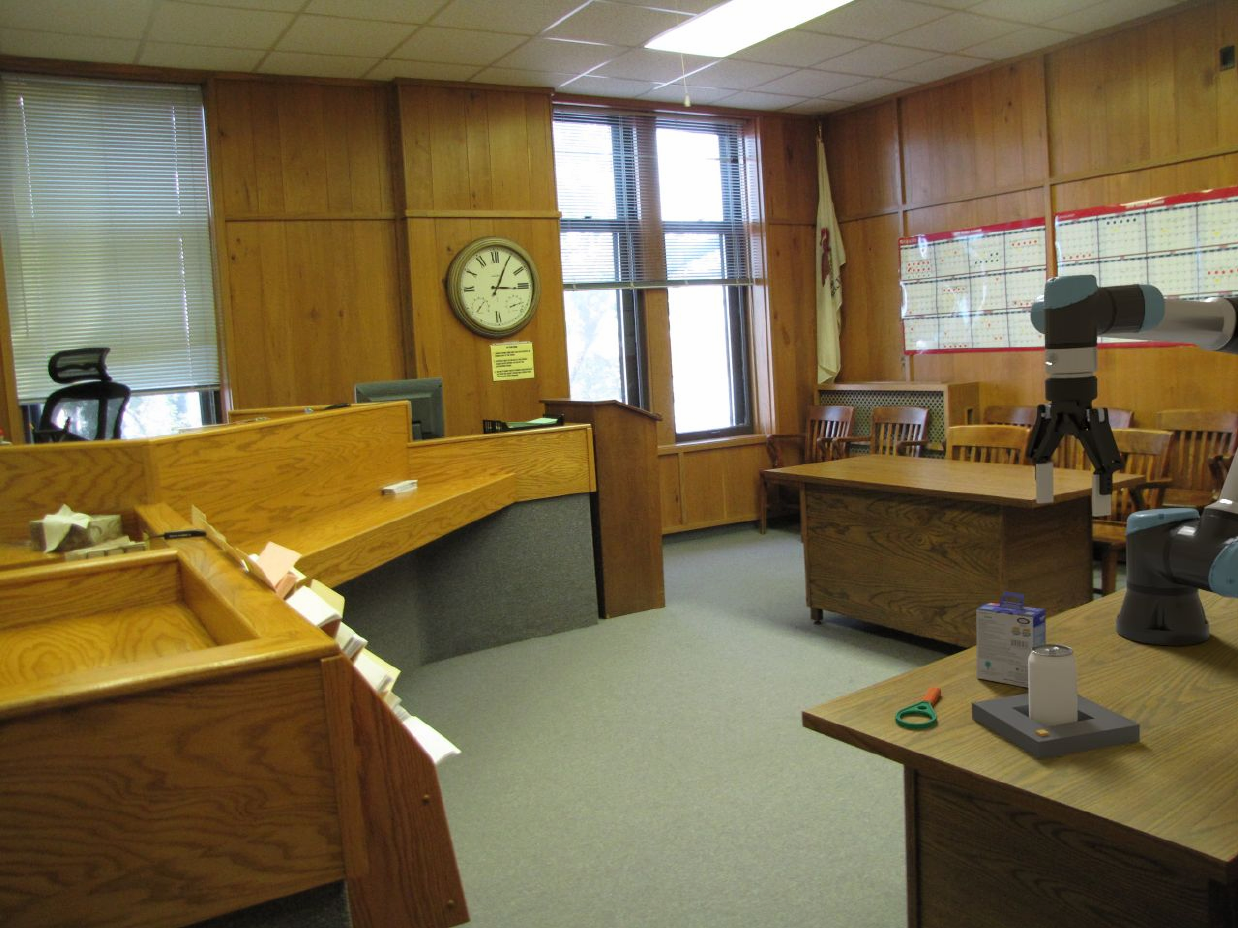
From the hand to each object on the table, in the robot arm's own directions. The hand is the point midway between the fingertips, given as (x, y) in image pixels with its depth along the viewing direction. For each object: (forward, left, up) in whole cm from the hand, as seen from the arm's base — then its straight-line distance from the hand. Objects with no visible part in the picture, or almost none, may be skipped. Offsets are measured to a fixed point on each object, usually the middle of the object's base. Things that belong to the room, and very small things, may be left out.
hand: (1072, 508), depth 162 cm
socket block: (+15, +15, -29) cm, 36 cm away
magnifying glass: (+28, +2, -29) cm, 41 cm away
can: (+15, +15, -29) cm, 36 cm away
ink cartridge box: (+8, -5, -29) cm, 30 cm away
